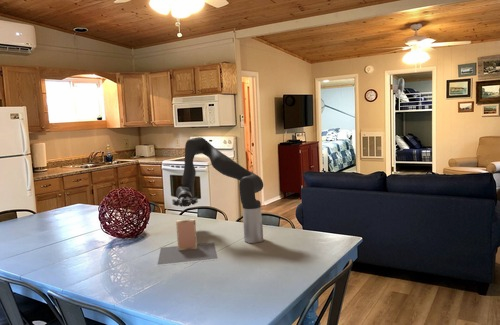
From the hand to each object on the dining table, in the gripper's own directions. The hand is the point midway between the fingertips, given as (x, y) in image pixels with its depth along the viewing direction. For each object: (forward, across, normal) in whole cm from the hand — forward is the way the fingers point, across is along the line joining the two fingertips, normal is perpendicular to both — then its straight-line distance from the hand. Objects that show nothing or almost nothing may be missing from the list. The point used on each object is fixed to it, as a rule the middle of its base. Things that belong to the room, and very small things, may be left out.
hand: (185, 204), depth 202 cm
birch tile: (+12, 0, +19) cm, 23 cm away
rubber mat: (+18, 0, +20) cm, 27 cm away
